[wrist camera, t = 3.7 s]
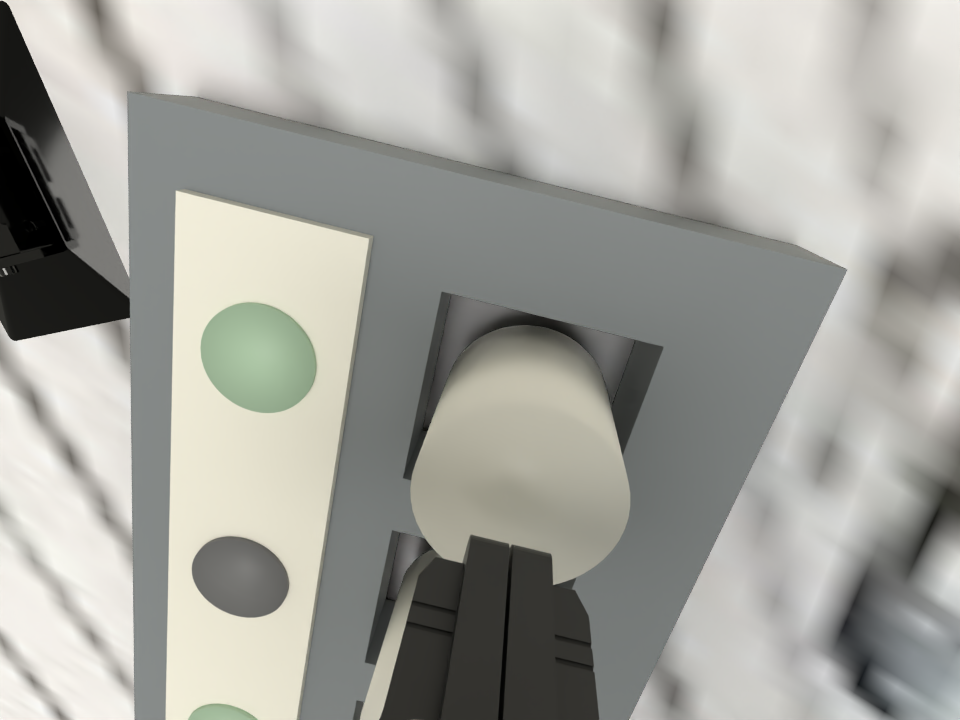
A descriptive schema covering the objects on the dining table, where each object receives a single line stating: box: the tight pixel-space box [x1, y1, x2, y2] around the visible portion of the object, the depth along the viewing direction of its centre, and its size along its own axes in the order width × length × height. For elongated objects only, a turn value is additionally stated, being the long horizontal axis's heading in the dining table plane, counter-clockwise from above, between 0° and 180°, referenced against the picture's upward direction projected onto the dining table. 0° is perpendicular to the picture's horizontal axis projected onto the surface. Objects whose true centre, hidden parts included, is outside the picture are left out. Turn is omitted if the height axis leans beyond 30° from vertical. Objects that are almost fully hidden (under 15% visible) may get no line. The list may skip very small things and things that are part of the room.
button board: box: [127, 92, 847, 720], centre depth 21 cm, size 18×28×3 cm, turn 167°
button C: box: [410, 325, 630, 585], centre depth 15 cm, size 5×5×5 cm
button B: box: [360, 549, 442, 720], centre depth 18 cm, size 5×5×5 cm
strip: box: [166, 189, 373, 720], centre depth 19 cm, size 5×24×1 cm, turn 167°
